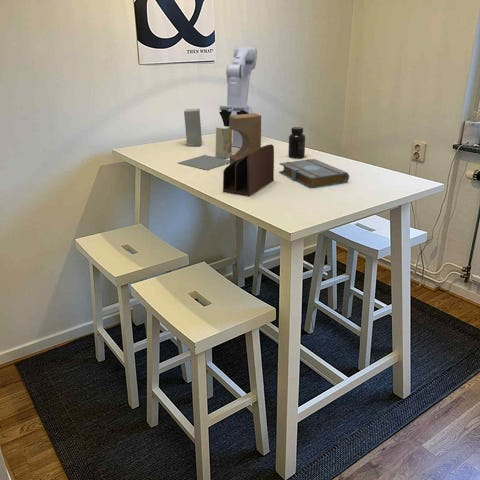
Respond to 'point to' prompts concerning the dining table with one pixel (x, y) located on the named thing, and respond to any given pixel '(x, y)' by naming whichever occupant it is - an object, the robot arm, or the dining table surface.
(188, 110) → the skincare box
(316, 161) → the book
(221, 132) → the skincare box
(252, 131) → the decorative block
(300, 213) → the dining table surface
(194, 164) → the mat
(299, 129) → the supplement bottle
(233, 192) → the letter holder
